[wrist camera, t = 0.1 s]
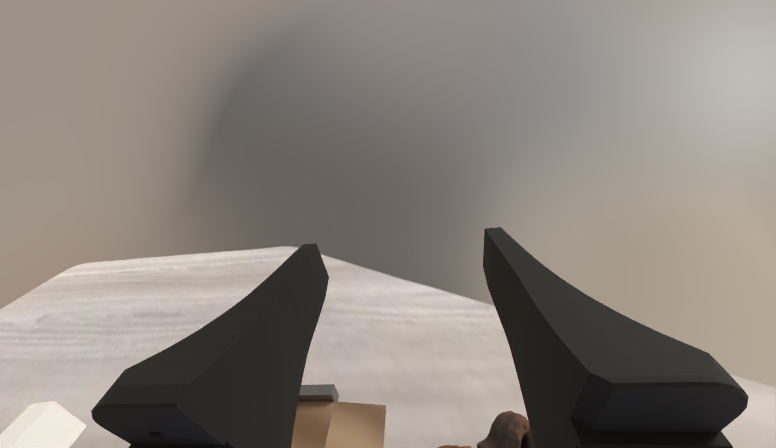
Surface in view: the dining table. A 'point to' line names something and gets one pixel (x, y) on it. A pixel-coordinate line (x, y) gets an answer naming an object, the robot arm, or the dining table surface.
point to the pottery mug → (506, 433)
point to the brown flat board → (338, 425)
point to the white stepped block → (42, 428)
